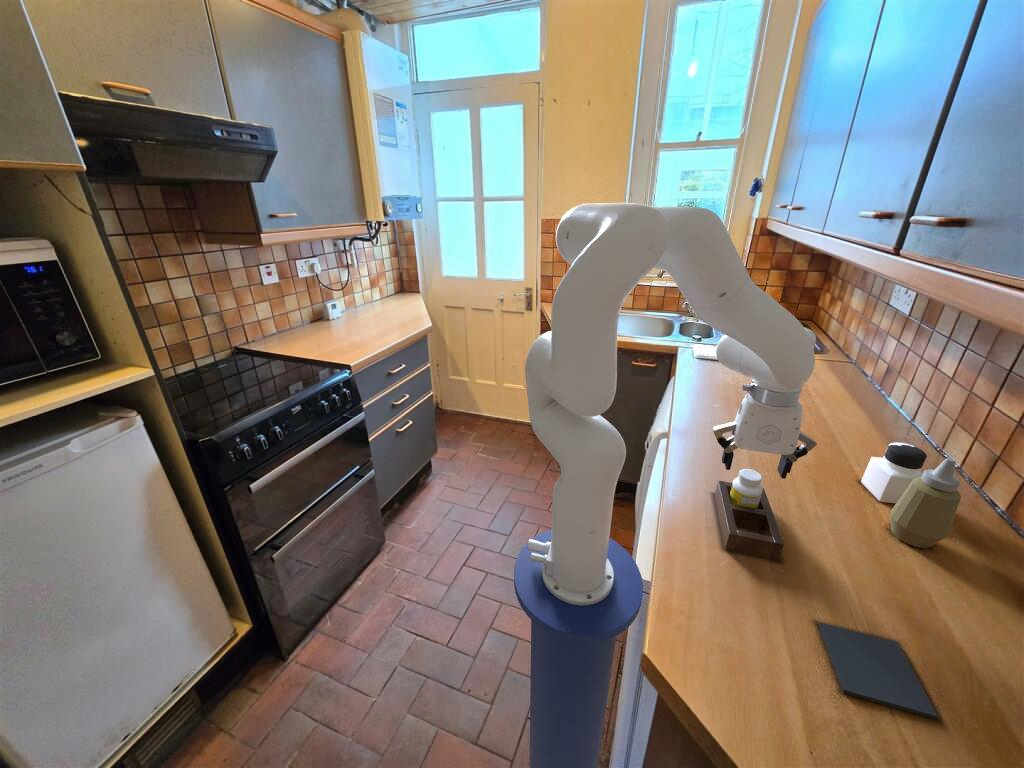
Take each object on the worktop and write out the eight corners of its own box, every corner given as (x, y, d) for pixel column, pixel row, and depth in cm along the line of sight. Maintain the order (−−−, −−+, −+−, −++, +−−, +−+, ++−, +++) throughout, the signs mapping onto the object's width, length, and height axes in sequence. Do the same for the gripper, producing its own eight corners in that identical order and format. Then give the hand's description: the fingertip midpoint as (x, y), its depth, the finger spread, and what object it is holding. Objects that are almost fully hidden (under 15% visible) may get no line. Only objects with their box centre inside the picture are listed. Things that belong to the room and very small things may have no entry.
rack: (724, 549, 76) (729, 533, 74) (714, 494, 90) (718, 480, 88) (778, 561, 73) (784, 544, 72) (759, 502, 88) (763, 488, 86)
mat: (842, 692, 54) (844, 690, 54) (817, 624, 63) (818, 621, 62) (936, 719, 51) (938, 716, 51) (896, 644, 60) (898, 641, 59)
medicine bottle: (917, 506, 86) (941, 459, 81) (879, 502, 87) (900, 456, 82) (895, 485, 92) (916, 440, 87) (859, 481, 94) (878, 437, 89)
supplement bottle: (724, 501, 88) (733, 464, 84) (751, 506, 87) (763, 468, 83) (728, 518, 83) (738, 480, 79) (757, 524, 82) (769, 485, 78)
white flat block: (693, 347, 179) (694, 343, 178) (743, 352, 172) (744, 348, 172) (693, 357, 168) (694, 353, 167) (748, 363, 161) (749, 359, 160)
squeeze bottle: (924, 559, 74) (969, 478, 66) (873, 528, 80) (909, 452, 73) (949, 545, 76) (995, 467, 69) (898, 517, 83) (935, 443, 76)
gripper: (724, 396, 73) (708, 474, 80) (838, 408, 68) (809, 490, 75) (719, 380, 79) (704, 453, 87) (822, 390, 74) (798, 466, 81)
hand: (753, 470), depth 81 cm, fingers open, 9 cm apart
